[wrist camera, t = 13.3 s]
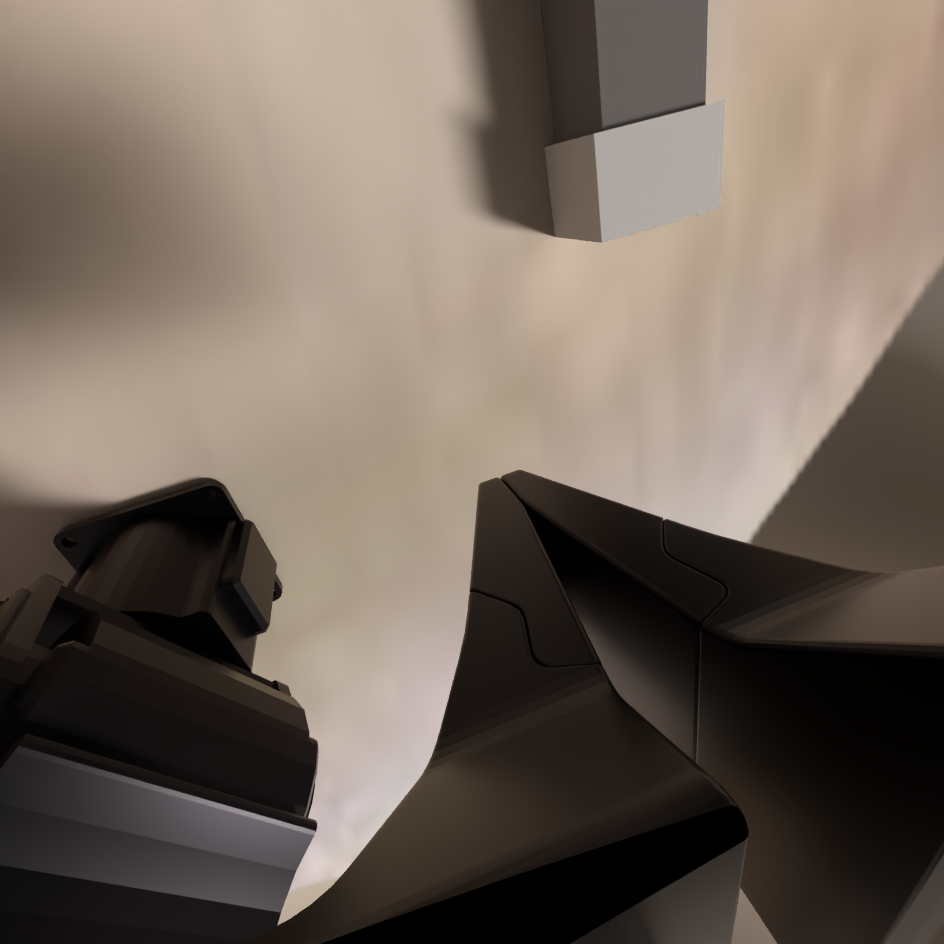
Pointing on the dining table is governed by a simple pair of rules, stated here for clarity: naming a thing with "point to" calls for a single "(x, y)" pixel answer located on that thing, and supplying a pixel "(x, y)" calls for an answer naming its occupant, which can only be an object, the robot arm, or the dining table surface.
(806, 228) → the dining table surface
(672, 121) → the long grey plank
